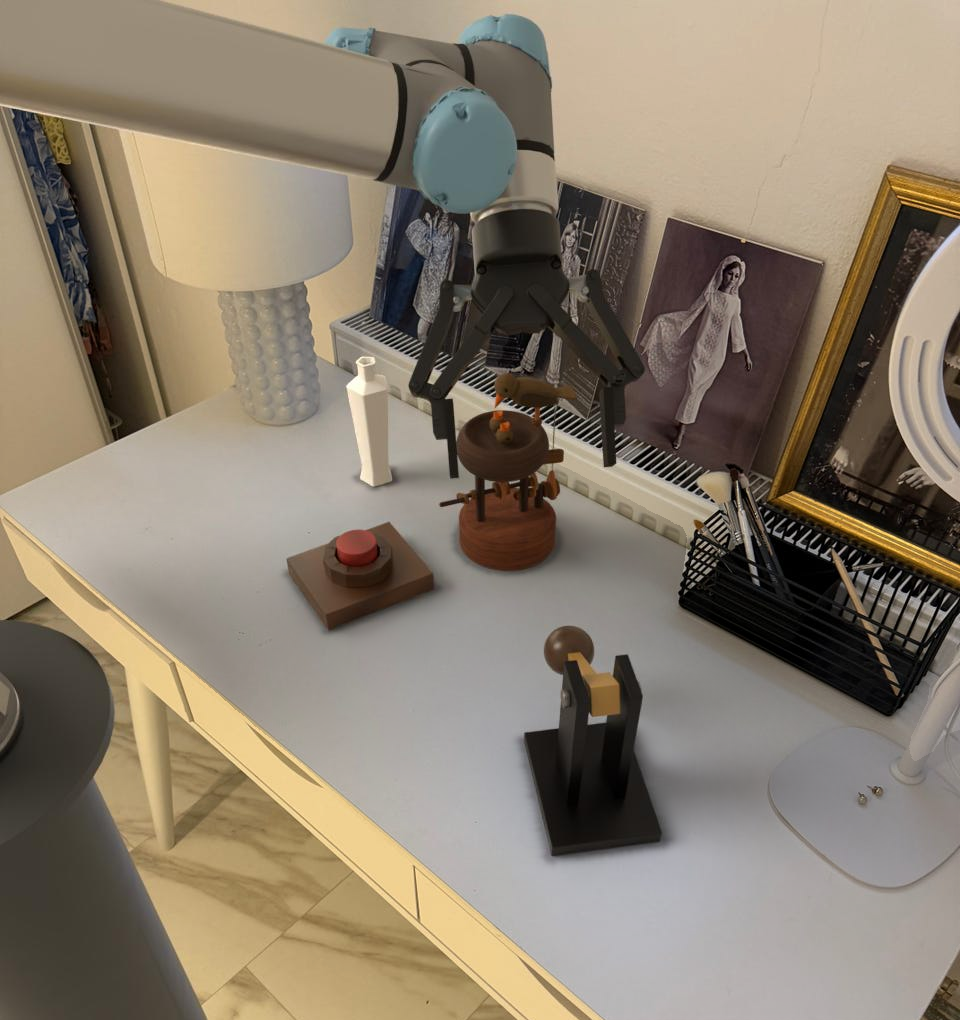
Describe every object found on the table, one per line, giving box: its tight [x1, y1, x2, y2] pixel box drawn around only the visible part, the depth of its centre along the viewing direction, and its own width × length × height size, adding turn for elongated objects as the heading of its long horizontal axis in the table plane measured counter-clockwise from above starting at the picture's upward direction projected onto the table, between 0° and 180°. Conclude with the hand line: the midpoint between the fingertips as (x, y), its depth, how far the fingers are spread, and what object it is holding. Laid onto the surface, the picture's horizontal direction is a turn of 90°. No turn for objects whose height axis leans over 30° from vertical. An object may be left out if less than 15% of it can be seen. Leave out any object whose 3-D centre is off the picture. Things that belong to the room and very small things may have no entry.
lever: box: [543, 625, 620, 718], centre depth 79 cm, size 15×4×4 cm, turn 9°
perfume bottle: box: [346, 356, 393, 487], centre depth 109 cm, size 5×4×15 cm
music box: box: [438, 372, 578, 571], centre depth 98 cm, size 15×11×20 cm
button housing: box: [285, 521, 435, 631], centre depth 99 cm, size 12×10×4 cm
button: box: [336, 529, 377, 567], centre depth 98 cm, size 4×4×2 cm
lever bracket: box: [523, 654, 663, 857], centre depth 77 cm, size 12×9×14 cm
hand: (532, 471), depth 84 cm, fingers open, 13 cm apart
